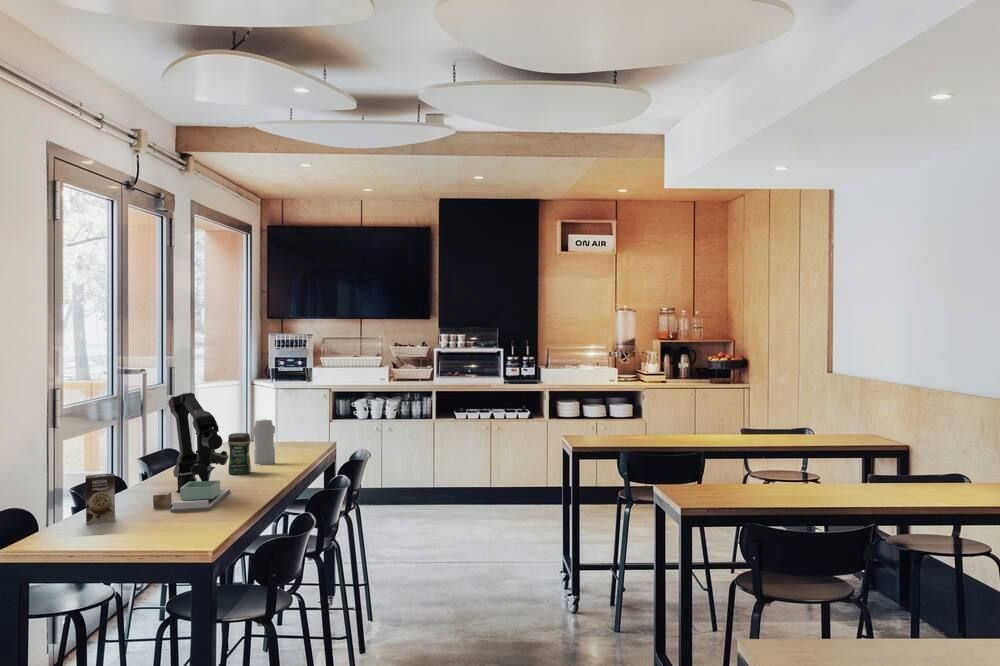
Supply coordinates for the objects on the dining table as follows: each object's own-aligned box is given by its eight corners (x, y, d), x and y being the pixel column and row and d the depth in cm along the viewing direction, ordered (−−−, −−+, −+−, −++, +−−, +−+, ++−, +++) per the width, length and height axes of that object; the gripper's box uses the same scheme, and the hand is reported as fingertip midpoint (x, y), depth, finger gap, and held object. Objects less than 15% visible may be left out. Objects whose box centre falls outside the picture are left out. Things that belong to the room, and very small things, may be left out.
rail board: (170, 512, 273) (170, 502, 273) (194, 493, 303) (194, 485, 303) (210, 510, 275) (210, 500, 275) (230, 491, 305) (230, 483, 305)
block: (153, 508, 280) (153, 495, 280) (157, 505, 285) (157, 492, 285) (167, 507, 280) (167, 494, 280) (171, 504, 285) (171, 491, 285)
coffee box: (86, 525, 258) (84, 478, 258) (86, 520, 264) (85, 475, 264) (115, 521, 262) (114, 475, 262) (115, 517, 268) (114, 472, 268)
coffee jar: (226, 475, 340) (225, 434, 340) (232, 472, 348) (230, 432, 348) (248, 474, 340) (246, 434, 340) (253, 471, 348) (251, 431, 348)
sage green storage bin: (180, 503, 281) (180, 488, 281) (189, 496, 293) (189, 481, 293) (212, 502, 283) (212, 486, 283) (220, 495, 294) (220, 480, 294)
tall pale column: (252, 465, 364) (251, 420, 363) (254, 463, 368) (253, 419, 367) (275, 464, 365) (273, 419, 364) (276, 462, 369) (275, 418, 368)
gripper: (220, 449, 287) (221, 490, 287) (231, 442, 305) (232, 480, 305) (189, 451, 285) (191, 492, 285) (203, 443, 304) (204, 481, 304)
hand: (206, 486), depth 295 cm, fingers closed
